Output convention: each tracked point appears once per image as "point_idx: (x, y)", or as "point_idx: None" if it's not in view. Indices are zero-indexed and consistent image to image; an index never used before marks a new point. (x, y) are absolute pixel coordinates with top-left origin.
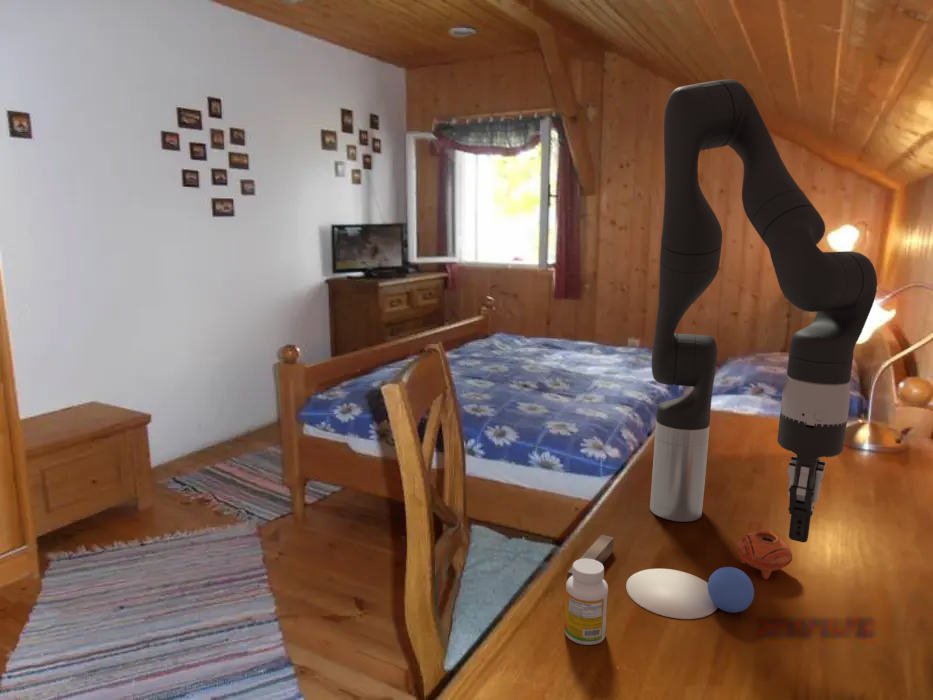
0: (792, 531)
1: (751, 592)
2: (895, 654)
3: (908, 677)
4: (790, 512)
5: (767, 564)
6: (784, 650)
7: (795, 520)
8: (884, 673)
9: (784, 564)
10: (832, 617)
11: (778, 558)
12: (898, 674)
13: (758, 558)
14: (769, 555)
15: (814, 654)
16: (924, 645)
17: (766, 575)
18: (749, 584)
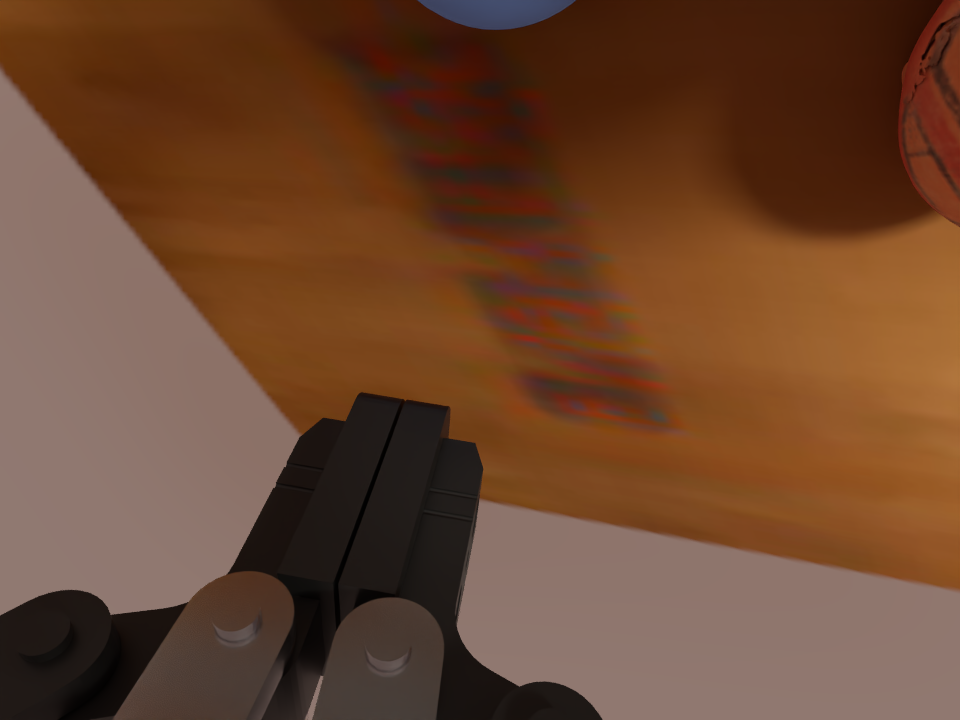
0: (294, 455)
1: (447, 18)
2: None
3: None
4: (12, 620)
5: (902, 99)
6: (301, 146)
7: (246, 552)
8: None
9: (919, 193)
10: (623, 320)
11: (937, 171)
12: None
13: (942, 45)
14: (951, 122)
15: (339, 243)
16: (557, 513)
17: (902, 77)
18: (457, 9)
